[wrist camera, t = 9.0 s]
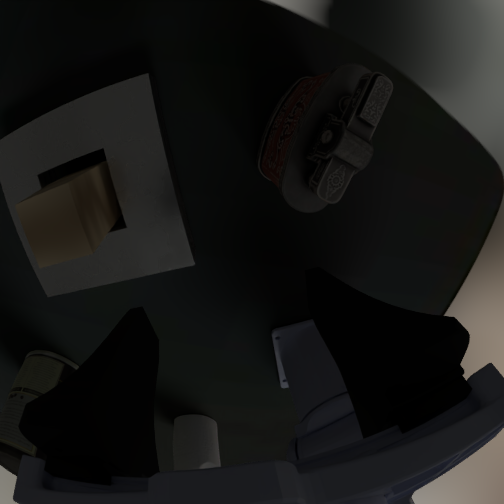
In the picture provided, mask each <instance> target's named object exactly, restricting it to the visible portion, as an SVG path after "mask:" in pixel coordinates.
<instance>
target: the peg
mask: <svg viewBox="0 0 504 504" xmlns="http://www.w3.org/2000/svg"><path fill="white" fill-rule="evenodd" d="M15 208H16V211H17V213H18V216H19V219H20V222H21V224H22V227H23V230H24V232H25V235H26V237H27V240H28V242H29V245H30V247H31V249H32V252H33V254H34V256H35V258H36V261H37V263H38V265H39V267H40V268H43V267H47V266H50V265H54V264H57V263H61V262H65V261H68V260H72V259H76V258H79V257H83V256H87V255H91V254H93V253H94V252H95V250H96V249H97V248H98V246H99V245H100V243H101V242H102V240H103V239H104V238H105V236H106V235H107V234H108V232H109V231H110V229H111V228H112V227H113V225H114V224H115V223H116V221H117V220H118V219H119V217H120V216H121V215H122V211H121V208H120V205H119V201H118V198H117V195H116V191H115V188H114V185H113V181H112V178H111V174H110V171H109V167H108V163H107V161H104V162H101V163H98V164H95V165H92V166H90V167H87V168H84V169H81V170H79V171H76V172H73V173H71V174H68V175H66V176H64V177H62V178H60V179H58V180H56V181H54V182H53V183H51V184H49V185H47V186H45V187H44V188H42V189H40V190H39V191H37V192H35V193H34V194H32V195H30V196H29V197H27V198H25V199H24V200H22V201H21V202H19V203H17V204H16V205H15Z"/></svg>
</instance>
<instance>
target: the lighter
mask: <svg viewBox="0 0 504 504" xmlns="http://www.w3.org/2000/svg"><path fill="white" fill-rule="evenodd" d="M392 90H393V84H392V82H391V81H390V80H389V79H388V78H387V77H386V76H385V75H383V74H382V73H380V72H373V73H372V72H371V71H369V70H368V69H367V68H365V67H364V66H362V65H360V64H354V63H349V64H344V65H340V66H337V67H336V68H335V69H333V70H332V71H331V72H329V73H325V74H322V75H318V76H315V77H303V78H300V79H297V80H296V81H295V82H293V84H292V85H291V86H290V87H289V89H288V90H287V91H286V92H285V94H284V95H283V96H282V98H281V99H280V101H279V102H278V104H277V106H276V108H275V109H274V111H273V113H272V115H271V116H270V118H269V121H268V123H267V126H266V128H265V131H264V134H263V136H262V139H261V143H260V147H259V151H258V155H257V159H256V165H257V168H258V170H259V171H260V173H261V174H262V175H263V176H264V177H265V178H267V179H268V180H270V181H272V182H273V183H274V184H275V185H276V186H277V187H278V188H279V190H280V193H281V195H282V197H283V198H284V199H285V200H286V202H287V203H288V204H289V205H290V206H291V207H293V208H294V209H296V210H298V211H301V212H305V213H311V212H317V211H319V210H321V209H323V208H324V207H325V206H326V205H327V204H328V203H336V202H338V201H339V200H340V199H341V197H342V195H343V193H344V192H345V190H346V188H347V186H348V184H349V182H350V180H351V178H352V176H353V175H355V174H357V173H358V172H359V171H361V170H363V169H364V168H365V167H366V166H367V165H368V164H369V162H370V160H371V158H372V155H373V151H374V148H373V145H372V139H371V137H372V135H373V133H374V131H375V129H376V126H377V124H378V122H379V120H380V118H381V116H382V113H383V111H384V109H385V107H386V105H387V102H388V100H389V98H390V96H391V93H392Z"/></svg>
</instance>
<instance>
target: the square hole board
mask: <svg viewBox="0 0 504 504" xmlns="http://www.w3.org/2000/svg"><path fill="white" fill-rule="evenodd" d="M102 148H104V152H105V156H106V159H107V163H108V167H109V171H110V174H111V178H112V181H113V185H114V188H115V191H116V195H117V198H118V201H119V205H120V208H121V211H122V214H123V217H124V218H123V219H120V220H117V221H116V223H115V224H114V225H113V227H112V228H111V229H110V231H109V232H108V234H107V235H106V236H105V238H104V239H103V240H102V242H101V243H100V245H99V246H98V248H97V249H96V250H95V252H94V253H93V254H91V255H87V256H83V257H79V258H76V259H72V260H68V261H65V262H61V263H57V264H54V265H50V266H47V267H43V268H40V267H39V265H38V263H37V261H36V258H35V256H34V254H33V252H32V249H31V247H30V245H29V242H28V240H27V237H26V235H25V232H24V230H23V227H22V224H21V222H20V219H19V216H18V213H17V211H16V208H15V205H16V204H17V203H19V202H21V201H22V200H24V199H25V198H27V197H29V196H30V195H32V194H34V193H35V192H37V191H39V190H40V189H42V188H44V187H45V186H47V185H49V184H51V183H53V182H54V181H56V180H57V179H56V175H55V172H54V167H56V166H58V165H61V164H63V163H66V162H68V161H70V160H73V159H75V158H78V157H80V156H83V155H86V154H88V153H91V152H94V151H96V150H99V149H102ZM0 182H1V185H2V189H3V192H4V195H5V198H6V201H7V204H8V207H9V210H10V213H11V216H12V219H13V221H14V224H15V227H16V229H17V232H18V234H19V237H20V239H21V242H22V244H23V247H24V249H25V251H26V253H27V256H28V258H29V260H30V262H31V265H32V267H33V269H34V271H35V273H36V275H37V277H38V279H39V281H40V283H41V285H42V287H43V289H44V291H45V293H46V295H47V296H48V297H51V296H55V295H60V294H64V293H69V292H74V291H78V290H83V289H87V288H92V287H96V286H101V285H105V284H110V283H115V282H119V281H124V280H128V279H133V278H137V277H142V276H146V275H151V274H155V273H160V272H165V271H169V270H174V269H178V268H183V267H187V266H192V265H195V255H196V248H195V244H194V241H193V237H192V233H191V230H190V226H189V222H188V219H187V215H186V211H185V207H184V203H183V200H182V196H181V192H180V188H179V184H178V180H177V176H176V171H175V167H174V163H173V159H172V155H171V150H170V146H169V142H168V137H167V133H166V128H165V123H164V119H163V114H162V109H161V104H160V99H159V94H158V89H157V84H156V79H155V77H153V76H152V75H150V74H149V73H147V74H143V75H140V76H137V77H134V78H131V79H128V80H125V81H122V82H119V83H116V84H113V85H110V86H108V87H105V88H102V89H100V90H97V91H95V92H92V93H90V94H87V95H85V96H83V97H80V98H78V99H76V100H73V101H71V102H69V103H67V104H65V105H62V106H60V107H58V108H56V109H54V110H52V111H50V112H48V113H46V114H44V115H42V116H40V117H38V118H37V119H35V120H33V121H31V122H29V123H27V124H26V125H24V126H22V127H20V128H19V129H17V130H15V131H14V132H12V133H10V134H9V135H7V136H6V137H4V138H2V139H1V140H0Z"/></svg>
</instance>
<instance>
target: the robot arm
mask: <svg viewBox="0 0 504 504" xmlns="http://www.w3.org/2000/svg"><path fill="white" fill-rule="evenodd" d="M305 274H306V285H307V296H308V308H309V310H310V313H311V316H312V318H313V319H311V320H307V321H303V322H299V323H296V324H292V325H288V326H284V327H280V328H276V329H274V330H272V332H271V334H272V340H273V345H274V351H275V357H276V362H277V368H278V374H279V379H280V385H281V387H282V388H287V387H289V389H290V392H291V396H292V399H293V402H294V405H295V409H296V412H297V415H298V418H299V422H300V424H298V425H296V426H294V429H295V432H296V436H297V437H296V438H293V439H292V440H291V441H290V442H289V446H288V449H287V461H282V460H265V461H255V462H249V463H243V464H236V465H229V466H222V467H213V468H203V469H191V470H174V471H165V472H160V471H159V466H158V460H157V452H156V444H155V431H154V397H155V388H156V380H157V372H158V364H159V340H158V338H157V336H156V334H155V332H154V330H153V328H152V326H151V323H150V321H149V319H148V317H147V315H146V313H145V311H144V309H143V307H138V308H133V309H130V310H129V311H128V312H127V313H126V314H125V315H124V317H123V318H122V319H121V320H120V322H119V323H118V324H117V325H116V327H115V328H114V329H113V330H112V331H111V333H110V334H109V335H108V336H107V338H106V339H105V340H104V341H103V342H102V344H101V345H100V346H99V347H98V348H97V349H96V350H95V352H94V353H93V354H92V355H91V356H90V357H89V358H88V359H87V360H86V361H85V362H84V363H83V364H82V365H81V366H80V367H79V368H78V369H77V370H76V371H74V372H73V373H72V374H71V375H69V376H68V377H67V378H66V379H65V380H63V381H62V382H61V383H59V384H58V385H57V386H55V387H54V388H52V389H51V390H49V391H48V392H46V393H45V394H43V395H41V396H39V397H38V398H36V399H34V400H32V401H30V402H28V403H26V405H25V408H24V411H23V414H22V417H21V419H20V422H19V426H18V427H19V430H20V432H21V433H22V435H23V436H24V437H25V438H26V439H27V440H28V441H30V442H31V443H32V444H33V445H34V446H36V447H37V448H38V449H39V450H41V451H42V452H43V453H44V454H46V455H47V459H46V461H44V460H42V459H40V458H36V457H32V456H28V455H22V459H21V463H20V467H19V471H18V476H17V481H16V485H15V490H14V495H13V500H14V501H15V502H17V503H19V504H414V502H413V500H412V498H411V497H412V495H413V493H414V492H415V491H416V490H418V489H419V488H421V487H423V486H425V485H426V484H428V483H430V482H431V481H433V480H435V479H436V478H438V477H440V476H441V475H443V474H444V473H446V472H447V471H449V470H450V469H452V468H453V467H455V466H456V465H458V464H459V463H461V462H462V461H463V460H465V459H466V458H468V457H469V456H470V455H472V454H473V453H475V452H476V451H477V450H479V449H480V448H481V447H483V446H484V445H485V444H486V443H488V442H489V441H490V440H492V439H493V438H494V437H495V436H496V435H497V434H498V433H499V432H500V431H501V430H502V428H504V378H503V376H502V375H501V374H500V373H499V371H498V370H497V369H496V368H495V366H494V365H493V364H492V363H489V364H487V365H486V366H485V367H483V368H482V369H480V370H478V371H477V372H476V373H474V374H473V375H471V376H470V377H469V378H468V379H467V381H466V380H465V378H464V377H463V376H462V375H463V374H464V369H463V368H462V367H461V365H460V363H461V361H462V359H463V357H464V355H465V353H466V350H467V348H468V344H469V338H470V335H469V333H468V331H467V330H466V329H465V328H464V327H463V326H462V325H461V323H460V322H459V321H458V320H457V319H456V318H455V317H448V316H438V315H430V314H425V313H419V312H415V311H410V310H406V309H403V308H400V307H396V306H393V305H390V304H387V303H385V302H382V301H380V300H377V299H375V298H372V297H370V296H368V295H366V294H364V293H362V292H360V291H358V290H356V289H354V288H352V287H351V286H349V285H347V284H345V283H344V282H342V281H340V280H339V279H337V278H335V277H334V276H332V275H331V274H329V273H327V272H326V271H324V270H323V269H321V268H319V267H317V268H313V269H309V270H305ZM277 336H279V337H277Z"/></svg>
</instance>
